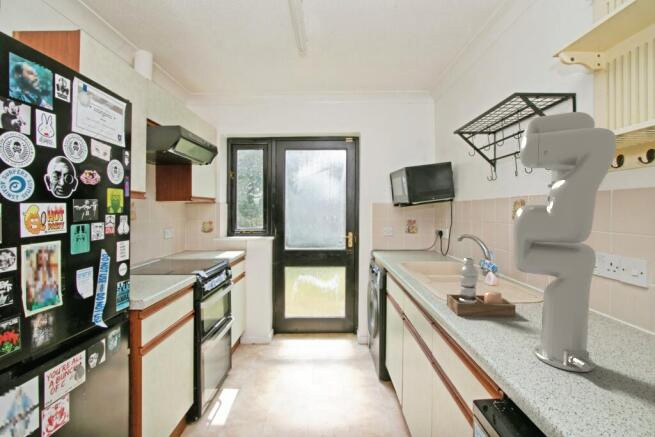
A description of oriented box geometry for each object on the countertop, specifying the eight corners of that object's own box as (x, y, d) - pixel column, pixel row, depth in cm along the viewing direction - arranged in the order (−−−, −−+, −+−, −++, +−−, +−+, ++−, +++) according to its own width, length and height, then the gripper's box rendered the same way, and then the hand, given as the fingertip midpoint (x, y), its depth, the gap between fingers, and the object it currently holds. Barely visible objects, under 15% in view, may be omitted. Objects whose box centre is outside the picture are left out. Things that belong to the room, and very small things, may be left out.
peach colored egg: (503, 314, 112) (504, 295, 112) (488, 313, 113) (488, 295, 112) (496, 308, 118) (496, 291, 118) (481, 308, 118) (481, 290, 118)
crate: (515, 318, 109) (515, 305, 109) (457, 317, 110) (457, 303, 110) (498, 308, 121) (499, 295, 121) (446, 306, 122) (447, 294, 122)
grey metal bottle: (468, 307, 120) (469, 257, 119) (481, 313, 113) (482, 260, 112) (454, 308, 118) (455, 257, 117) (466, 314, 111) (468, 260, 111)
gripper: (545, 186, 102) (543, 237, 103) (599, 186, 101) (597, 237, 102) (532, 187, 109) (530, 234, 110) (582, 188, 108) (579, 235, 109)
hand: (562, 236), depth 106 cm, fingers open, 9 cm apart
